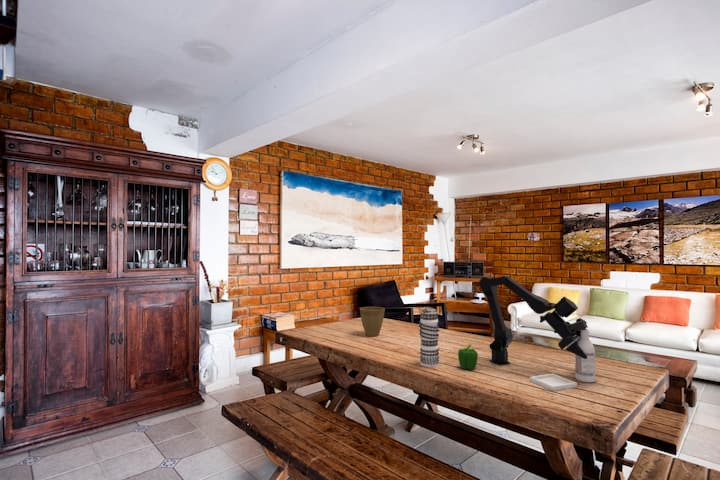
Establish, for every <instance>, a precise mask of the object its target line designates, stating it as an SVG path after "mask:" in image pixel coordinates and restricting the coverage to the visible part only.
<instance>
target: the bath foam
mask: <svg viewBox="0 0 720 480" xmlns="http://www.w3.org/2000/svg"><path fill="white" fill-rule="evenodd" d="M578 345H579V346H580V348H581V349H582V350H583V352H584V353H585V354H586V356H587V358H586V359H584V358H582V357H580V356H578V355H576V354H574V375H575V377H574V378H575V379H576V380H577V381H580V382H582V383H594V382H596V350H595V346H594V344H593V343H592V341H591V340H590V330H589V329H588V328H586V329H584V330H581V338H580V340H579V341H578Z"/></svg>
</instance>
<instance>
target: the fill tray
mask: <svg viewBox="0 0 720 480" xmlns="http://www.w3.org/2000/svg"><path fill="white" fill-rule="evenodd" d="M529 382H532V383H534V384H535V385H538V386H541V387H543V388H545V389H547V390H549V391H552V392H557V391H562V390H569V389H573V388H574V389H575V388H578V383H577V382H576V381H573V380H571V379H568V378H565V377H564V376H560V375H558V374H555V373H548V374H547V373H546V374H540V375H533V376H530V377H529Z"/></svg>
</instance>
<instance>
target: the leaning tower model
mask: <svg viewBox="0 0 720 480" xmlns="http://www.w3.org/2000/svg"><path fill="white" fill-rule="evenodd" d="M438 313H439V311H437V309H436V308H435V307H424V308H422V310H421V311H420V320H419V321H418V324H419V326H418V327H419V339H420V348H419V350H420V352H419V354H420V355H419V358H420V359H419V361H420V363H419V365H420V366H422V367H427V368H436V367H438V366H439V365H440V363H439V362H440V355H439V354H440V352H439V351H440V348H439V343H438V342H439V338H440V337H439V336H440V334H439V332H440V330H439V328H440V326H439V324H440V323H441V322H440V321H439V317H438Z"/></svg>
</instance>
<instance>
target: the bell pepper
mask: <svg viewBox="0 0 720 480" xmlns="http://www.w3.org/2000/svg"><path fill="white" fill-rule="evenodd" d="M470 347H472V344H471V343H470V344H468V345H467V347H465V348H459V349H458V351H457V352H458V353H457V354H458V356H457V357H458V363H459V366H460V367H461V369H463V370H464V369H466V370H474V369H476V368H477V363H478V359H479V358H478V357H479V354H478V351H476V350H475V349H474V348H470Z"/></svg>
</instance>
